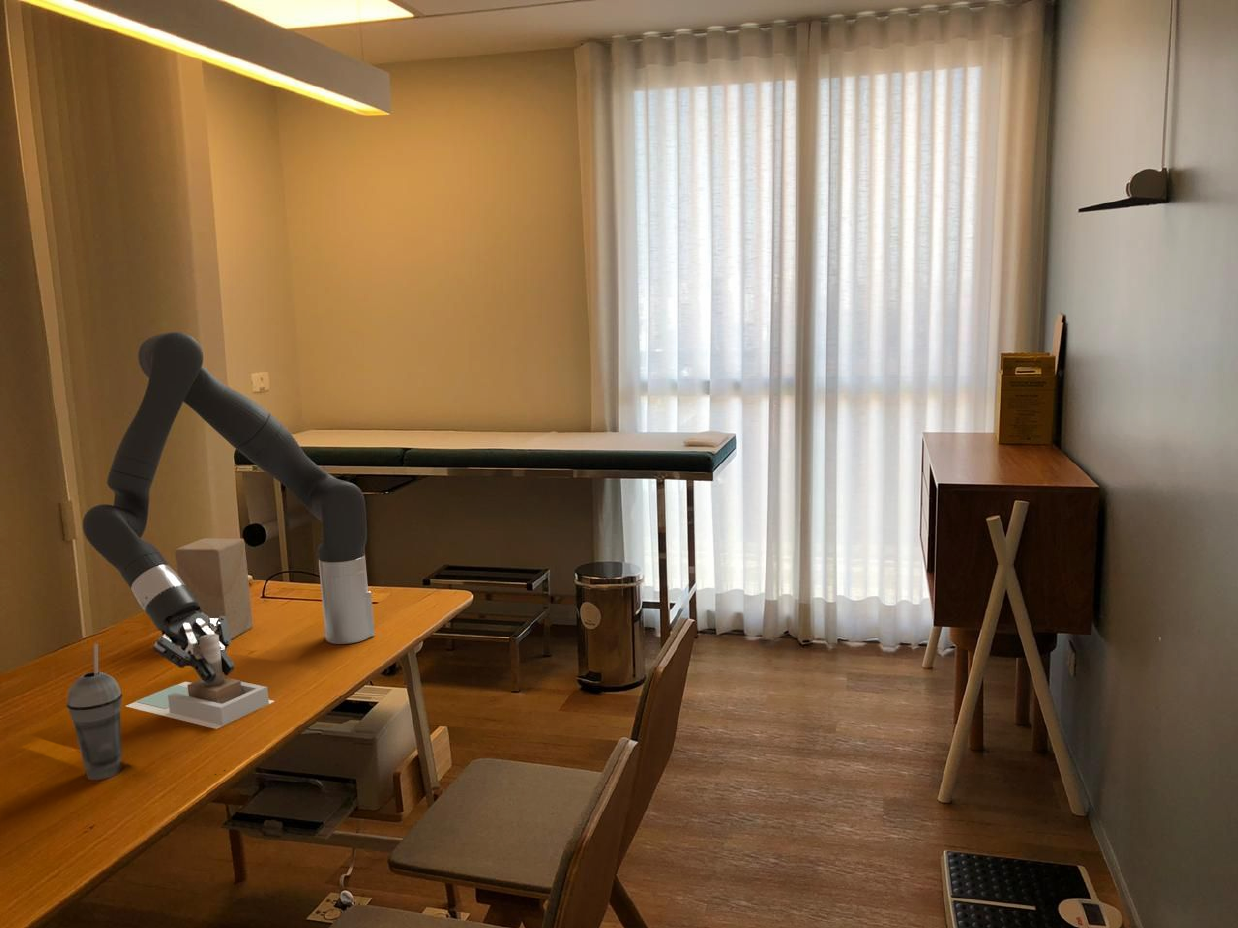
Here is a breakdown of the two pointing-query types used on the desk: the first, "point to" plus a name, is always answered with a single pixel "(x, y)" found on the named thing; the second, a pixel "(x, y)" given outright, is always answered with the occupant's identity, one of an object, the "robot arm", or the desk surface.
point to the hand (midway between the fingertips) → (221, 675)
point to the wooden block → (218, 580)
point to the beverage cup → (97, 721)
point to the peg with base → (220, 686)
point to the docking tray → (203, 705)
